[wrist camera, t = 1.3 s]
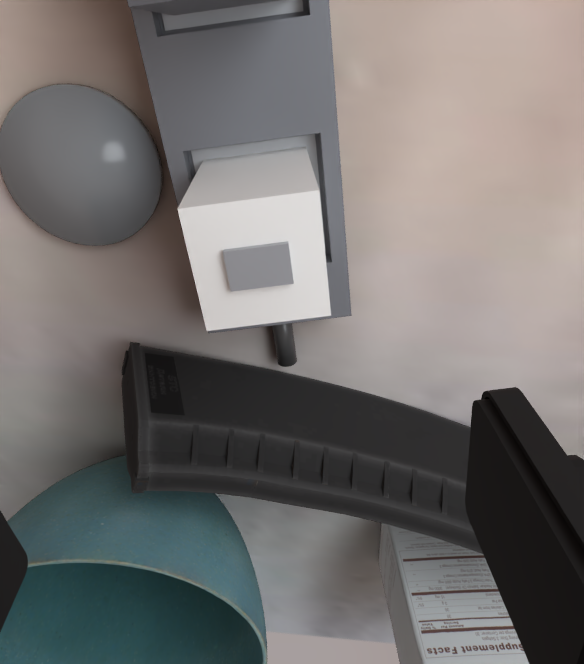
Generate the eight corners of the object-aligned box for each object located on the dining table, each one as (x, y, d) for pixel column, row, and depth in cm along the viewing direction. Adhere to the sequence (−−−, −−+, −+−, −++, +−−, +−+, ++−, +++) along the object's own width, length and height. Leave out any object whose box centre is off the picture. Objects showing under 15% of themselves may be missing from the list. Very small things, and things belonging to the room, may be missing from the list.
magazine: (30, 462, 25) (616, 739, 23) (36, 412, 23) (664, 705, 21) (181, 324, 40) (542, 484, 38) (191, 288, 38) (567, 454, 37)
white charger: (315, 244, 27) (331, 318, 20) (222, 255, 27) (205, 334, 20) (305, 146, 25) (320, 191, 17) (203, 160, 25) (176, 211, 18)
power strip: (348, 347, 33) (356, 380, 30) (225, 362, 33) (221, 396, 30) (299, -297, 19) (304, -363, 15) (84, -262, 19) (47, -321, 16)
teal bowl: (270, 399, 35) (269, 560, 24) (266, 567, 44) (265, 738, 33) (-4, 397, 34) (-130, 563, 23) (51, 569, 43) (-21, 744, 32)
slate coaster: (178, 232, 28) (176, 235, 28) (38, 250, 29) (33, 254, 28) (139, 72, 24) (136, 73, 24) (-24, 95, 25) (-30, 96, 24)
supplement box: (461, 558, 44) (523, 730, 33) (376, 562, 44) (411, 736, 33) (474, 498, 40) (550, 670, 30) (381, 503, 40) (423, 677, 29)
